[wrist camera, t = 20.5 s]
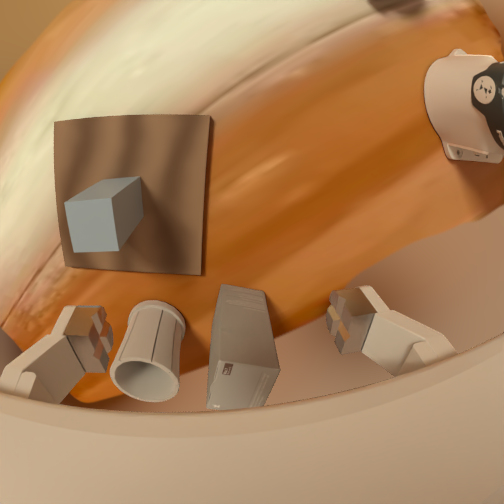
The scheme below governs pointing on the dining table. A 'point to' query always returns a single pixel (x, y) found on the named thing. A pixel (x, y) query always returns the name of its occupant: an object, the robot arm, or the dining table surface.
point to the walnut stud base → (152, 186)
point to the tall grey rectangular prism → (104, 214)
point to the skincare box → (241, 351)
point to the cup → (150, 353)
